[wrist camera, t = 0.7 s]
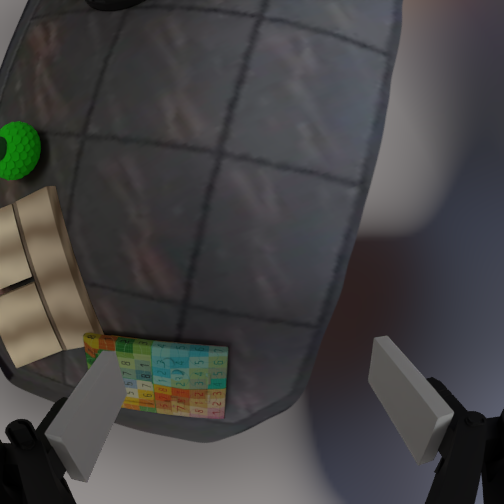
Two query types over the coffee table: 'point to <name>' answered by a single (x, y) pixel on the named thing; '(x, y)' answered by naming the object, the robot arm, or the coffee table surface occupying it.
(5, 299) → the plank
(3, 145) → the ornament
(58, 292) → the laid board
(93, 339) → the puzzle game
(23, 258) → the plank
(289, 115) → the coffee table surface
